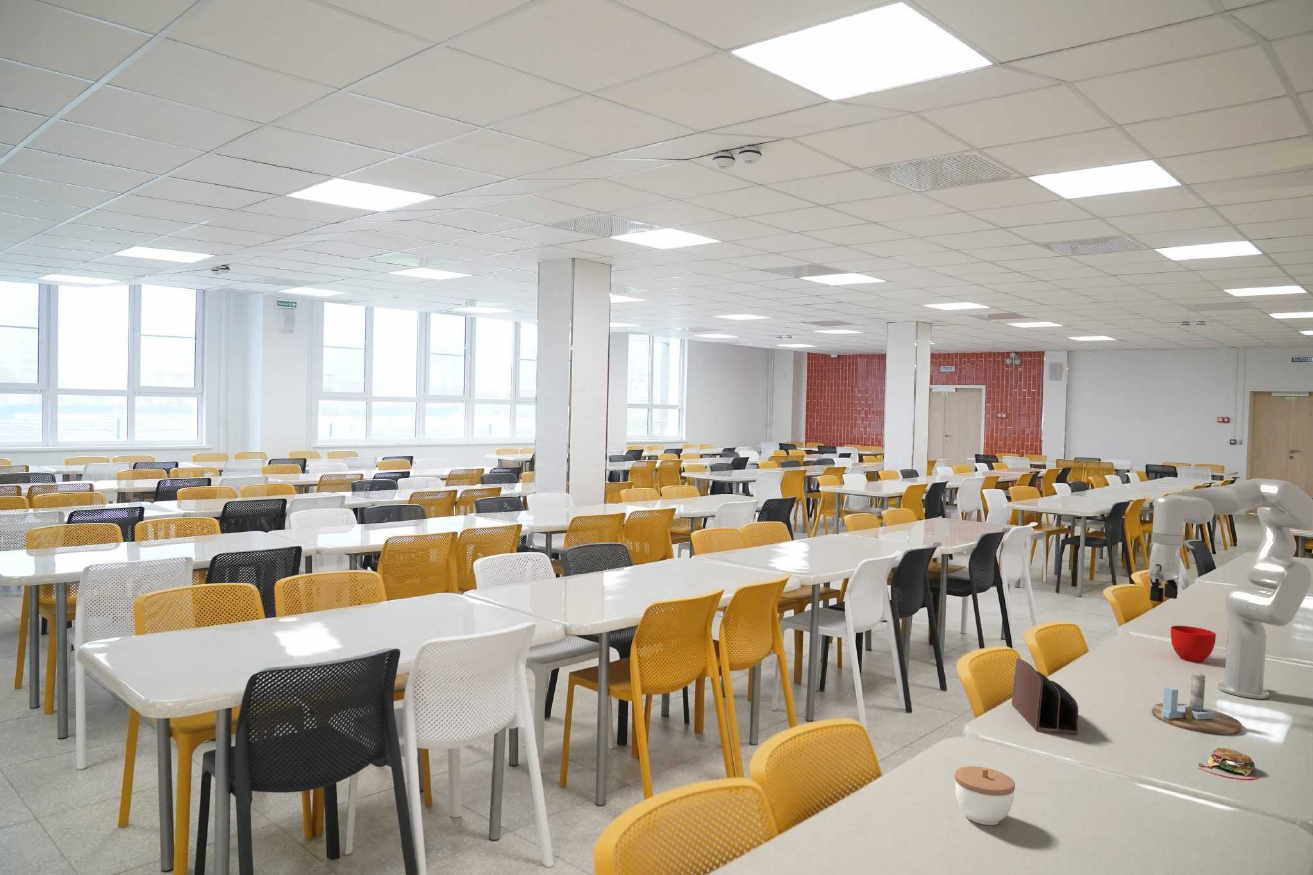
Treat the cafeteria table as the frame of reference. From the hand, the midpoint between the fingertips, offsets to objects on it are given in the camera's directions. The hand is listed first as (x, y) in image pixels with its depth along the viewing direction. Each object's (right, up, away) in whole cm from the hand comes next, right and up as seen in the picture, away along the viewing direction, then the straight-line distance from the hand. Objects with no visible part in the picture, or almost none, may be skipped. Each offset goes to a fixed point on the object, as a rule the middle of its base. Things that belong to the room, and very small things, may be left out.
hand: (1163, 599), depth 241 cm
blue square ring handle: (-6, -27, -19) cm, 33 cm away
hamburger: (-16, -30, -49) cm, 59 cm away
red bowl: (+38, -29, +47) cm, 67 cm away
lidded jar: (-83, -27, -80) cm, 118 cm away
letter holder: (-45, -27, -23) cm, 57 cm away
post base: (-2, -29, -18) cm, 34 cm away
